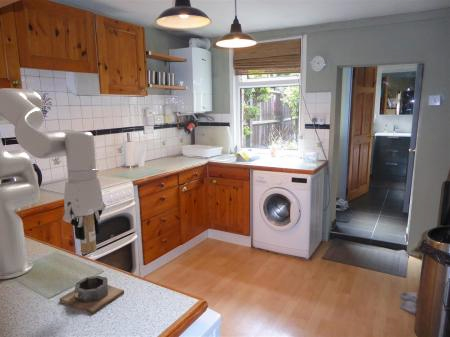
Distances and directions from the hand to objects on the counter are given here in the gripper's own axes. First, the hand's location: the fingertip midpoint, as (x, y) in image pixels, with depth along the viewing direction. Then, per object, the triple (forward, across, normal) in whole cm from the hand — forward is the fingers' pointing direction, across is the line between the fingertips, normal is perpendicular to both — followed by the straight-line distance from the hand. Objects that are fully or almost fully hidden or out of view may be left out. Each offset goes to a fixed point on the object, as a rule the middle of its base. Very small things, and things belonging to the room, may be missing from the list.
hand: (87, 235), depth 97 cm
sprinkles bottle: (+5, 0, 0) cm, 5 cm away
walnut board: (+20, 0, 0) cm, 20 cm away
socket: (+20, 0, 0) cm, 20 cm away
